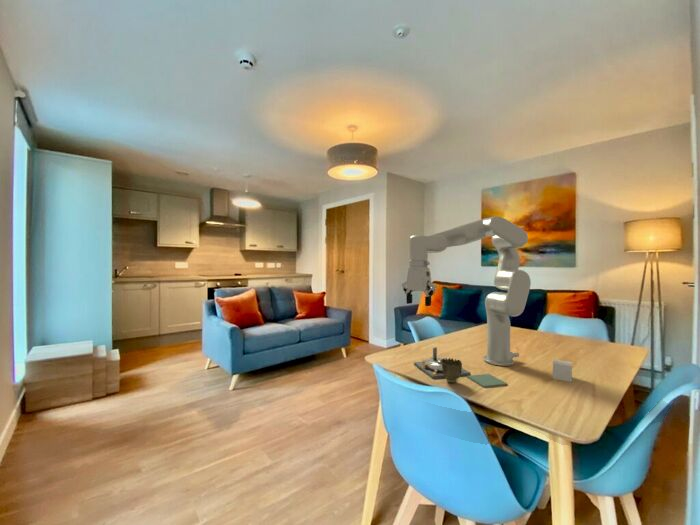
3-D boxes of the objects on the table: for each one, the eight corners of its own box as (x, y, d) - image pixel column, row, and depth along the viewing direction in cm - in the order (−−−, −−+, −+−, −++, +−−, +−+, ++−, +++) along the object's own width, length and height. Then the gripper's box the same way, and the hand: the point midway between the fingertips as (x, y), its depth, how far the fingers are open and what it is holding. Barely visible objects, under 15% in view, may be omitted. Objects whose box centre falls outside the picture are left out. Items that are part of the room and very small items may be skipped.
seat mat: (488, 375, 121) (488, 373, 121) (507, 385, 111) (507, 383, 111) (466, 377, 118) (466, 375, 118) (483, 387, 109) (483, 385, 109)
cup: (463, 387, 109) (463, 364, 109) (442, 385, 111) (442, 363, 111) (460, 379, 116) (460, 358, 116) (440, 377, 118) (440, 357, 118)
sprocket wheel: (447, 359, 136) (447, 345, 136) (468, 371, 121) (468, 355, 121) (415, 361, 133) (415, 347, 133) (433, 374, 118) (433, 357, 118)
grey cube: (552, 378, 118) (552, 363, 118) (553, 374, 123) (553, 359, 123) (571, 382, 114) (571, 366, 114) (571, 377, 119) (571, 362, 119)
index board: (447, 361, 137) (447, 359, 137) (470, 375, 121) (470, 371, 121) (413, 364, 133) (413, 361, 133) (432, 378, 117) (432, 375, 117)
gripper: (441, 264, 124) (441, 306, 124) (408, 264, 138) (408, 301, 138) (430, 264, 120) (430, 307, 120) (397, 264, 133) (397, 303, 133)
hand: (418, 304), depth 129 cm, fingers open, 9 cm apart
